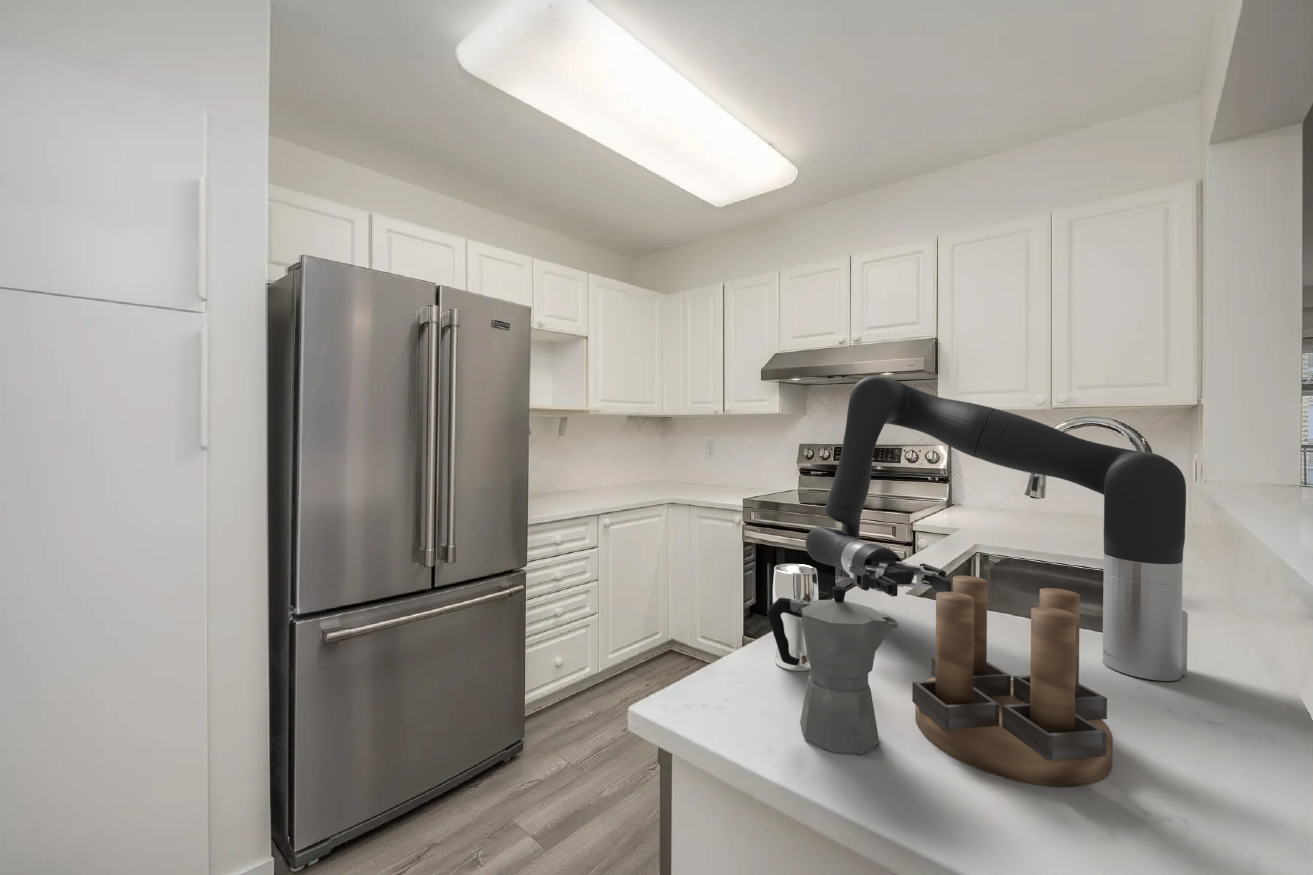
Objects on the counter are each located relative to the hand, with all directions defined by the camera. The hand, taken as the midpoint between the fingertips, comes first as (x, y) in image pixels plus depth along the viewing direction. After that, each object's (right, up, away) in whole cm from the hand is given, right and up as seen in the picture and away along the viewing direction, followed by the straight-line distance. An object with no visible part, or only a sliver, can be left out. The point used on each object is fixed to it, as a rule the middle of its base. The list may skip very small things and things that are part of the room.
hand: (922, 588), depth 86 cm
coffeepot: (-19, -13, -17) cm, 29 cm away
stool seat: (+2, -13, -18) cm, 22 cm away
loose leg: (+1, -10, -11) cm, 15 cm away
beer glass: (-19, -13, +3) cm, 23 cm away
